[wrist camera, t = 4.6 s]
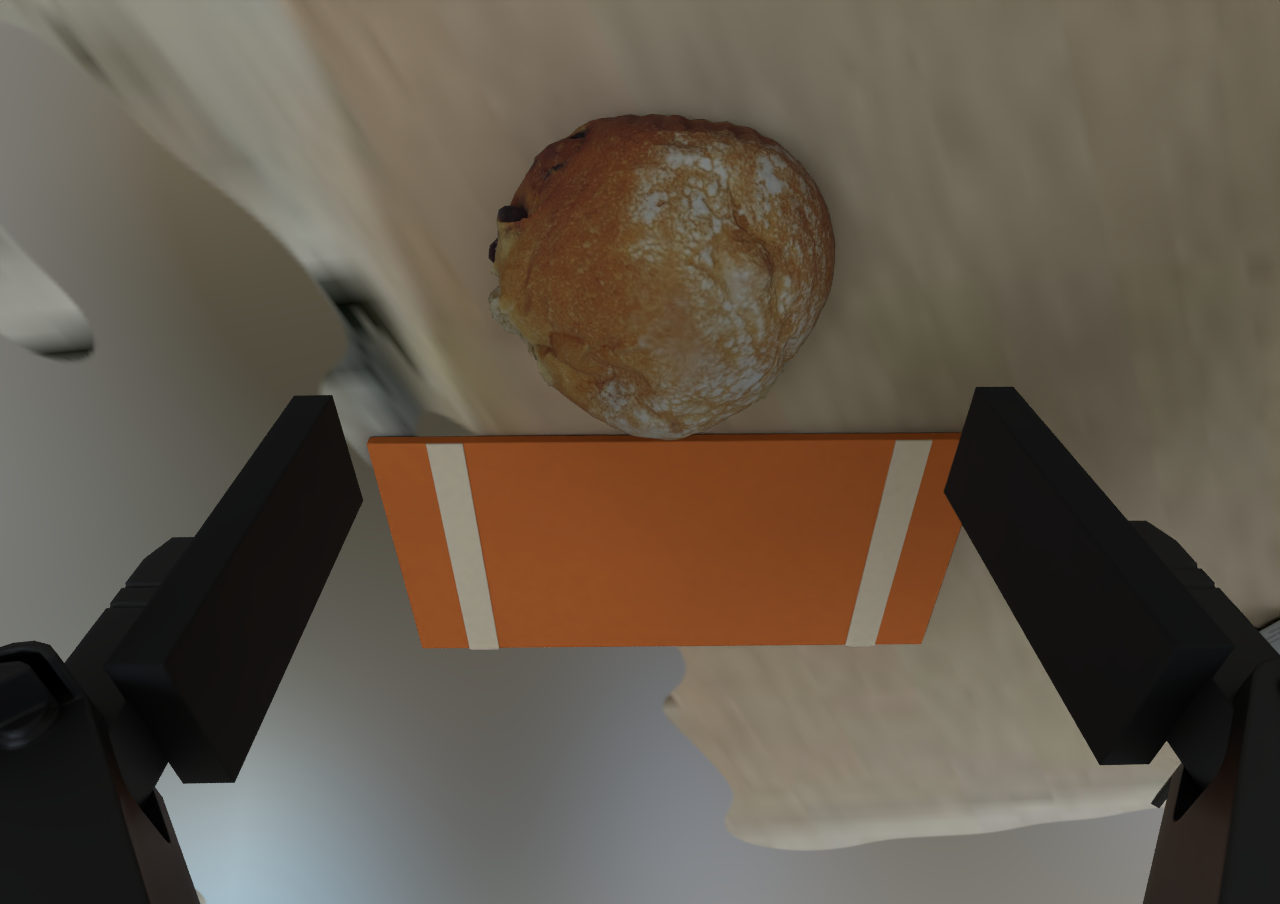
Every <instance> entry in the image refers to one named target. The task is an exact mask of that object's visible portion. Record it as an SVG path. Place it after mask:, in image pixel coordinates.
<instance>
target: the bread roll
mask: <svg viewBox="0 0 1280 904" xmlns="http://www.w3.org/2000/svg"><path fill="white" fill-rule="evenodd" d="M497 226H498V238H497V239H496V240H495V241H494V242H493V243H492V244H491V245H490V249H489V259H490V260H491V261H492V262H493V263H494V265H493V268H492V271H491V273H492V274H494V275H496V276H498V277H499V278H500V279H499V284H500V285H499V286H498V287H497V288H495V289H494V290H493V291H492V292H491V294H490V295H489V298H488V299H489V303H490V310H491V311H492V313H493V318H494V319H495V320H496V321H497V322H498V323H500V325H501V326H502V327H503V329H504V330H505V331H507V332H510V333H512V334H518V336H519V337H520V338H521V339H522V340H523V341H524V342H525V343H526V344H527V346H529V353H530V355H532V356H533V357H534V358H535V360H537V366H538V369H539V371H540V374H541V376H542V377H543V379H544V380H545V382H546V383H547V384H548V386H553V387H554V388H555V389H557V390H558V391H559V392H560V393H562V394H563V395H564V396H566V397H567V398H568V399H569V400H571V401H572V402H574V403H575V404H576V405H578V406H579V407H580V408H582V409H583V410H584V411H586V412H587V413H588V414H590V415H591V416H593V417H594V418H596V419H598V420H600V421H602V422H604V423H606V424H607V425H609V426H611V427H614V428H616V429H619V430H621V431H623V432H626V433H628V434H630V435H633V436H637V437H645V438H653V439H661V440H678V439H682V438H685V437H687V436H689V435H692V434H695V433H699V432H702V431H704V430H707V429H709V428H711V427H713V426H714V425H716V424H718V423H720V422H721V421H723V420H725V419H726V418H728V417H729V416H731V415H733V414H736V413H739V412H740V411H742V410H744V409H745V408H747V407H749V406H750V405H751V404H752V403H753V402H757V401H758V400H759V399H762V398H765V397H766V395H767V393H768V392H769V390H770V388H771V387H772V385H773V384H774V382H775V380H776V379H777V377H778V375H779V374H780V373H782V372H783V363H784V362H788V361H789V360H791V359H792V358H793V357H794V356H795V354H796V353H797V351H798V349H799V347H800V346H801V345H802V344H803V343H804V341H805V340H806V338H807V337H808V335H809V334H810V332H811V330H812V329H813V327H814V326H815V323H816V321H817V319H818V317H819V314H820V312H821V310H822V308H823V307H824V305H825V303H826V300H827V298H828V295H829V292H830V289H831V285H832V280H833V275H834V263H835V240H834V234H833V229H832V224H831V220H830V215H829V212H828V208H827V206H826V204H825V201H824V199H823V197H822V195H821V193H820V191H819V189H818V187H817V185H816V183H815V182H814V180H813V179H812V177H811V176H810V174H809V173H808V172H807V170H806V169H805V168H804V167H803V165H802V164H801V163H800V162H799V161H798V160H796V159H795V158H794V157H793V156H792V155H791V154H790V153H789V152H788V151H787V150H786V149H784V148H783V147H782V146H781V145H780V144H778V143H777V142H776V141H774V140H773V139H770V138H767V137H764V136H762V135H761V134H760V133H758V132H757V131H756V130H754V129H752V128H749V127H742V126H736V125H733V124H731V123H729V122H717V123H713V122H710V121H707V120H704V119H697V120H688V119H686V118H684V117H682V116H679V115H672V116H664V115H655V114H650V115H646V116H641V117H640V116H636V115H624V116H618V117H615V118H601V119H597V120H593V121H590V122H588V123H586V124H584V125H582V126H581V127H579V128H578V129H576V130H575V131H574V132H573V133H572V134H571V135H570V136H569V137H567V138H565V139H562V140H560V141H557V142H555V143H553V144H550V145H549V146H547V147H546V148H545V149H544V150H543V151H542V152H541V153H540V154H539V155H537V156H536V157H535V158H534V163H533V165H532V166H531V168H530V170H529V171H528V173H527V174H526V176H525V178H524V180H523V181H522V183H521V185H520V186H519V188H518V190H517V191H516V193H515V195H514V197H513V200H512V202H511V204H510V206H504V207H503V208H501V209H499V212H498V217H497Z"/></svg>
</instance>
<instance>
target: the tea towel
mask: <svg viewBox="0 0 1280 904" xmlns="http://www.w3.org/2000/svg"><path fill="white" fill-rule="evenodd" d="M961 434H962V433H859V434H723V435H689V436H687V437H685V438H682V439H678V440H661V439H653V438H645V437H637V436H633V435H587V436H462V437H461V436H454V437H452V436H451V437H370V439H369V441H368V443H367V446H368V450H369V454H370V457H371V461H372V465H373V468H374V472H375V476H376V479H377V483H378V486H379V490H380V494H381V498H382V501H383V505H384V509H385V512H386V516H387V520H388V523H389V527H390V531H391V534H392V538H393V542H394V545H395V549H396V553H397V556H398V560H399V563H400V567H401V571H402V575H403V578H404V582H405V586H406V589H407V593H408V597H409V600H410V604H411V608H412V611H413V615H414V618H415V622H416V626H417V630H418V633H419V637H420V640H421V644H422V648H470V650H478V649H479V650H482V649H483V650H486V649H487V650H489V649H499V648H507V647H508V648H510V647H615V646H616V647H618V646H619V647H621V646H622V647H624V646H737V645H845V646H875V644H921V643H922V640H923V637H924V634H925V631H926V629H927V626H928V623H929V620H930V617H931V614H932V611H933V608H934V605H935V602H936V599H937V596H938V593H939V590H940V587H941V584H942V582H943V579H944V576H945V573H946V570H947V567H948V564H949V561H950V558H951V555H952V552H953V549H954V546H955V543H956V540H957V537H958V535H959V532H960V529H961V526H962V523H961V522H960V520H959V518H958V516H957V515H956V513H955V511H954V509H953V508H952V506H951V504H950V502H949V501H948V499H947V497H946V495H945V494H944V488H945V485H946V482H947V479H948V475H949V472H950V469H951V466H952V463H953V459H954V456H955V453H956V450H957V447H958V443H959V440H960V437H961Z"/></svg>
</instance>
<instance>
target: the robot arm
mask: <svg viewBox="0 0 1280 904" xmlns="http://www.w3.org/2000/svg"><path fill="white" fill-rule="evenodd" d="M944 494H945V495H946V497H947V499H948V501H949V502H950V504H951V506H952V508H953V509H954V511H955V513H956V515H957V516H958V518H959V520H960V522H961V523H962V525H963V527H964V529H965V530H966V532H967V534H968V536H969V537H970V539H971V541H972V543H973V544H974V546H975V548H976V550H977V551H978V553H979V555H980V557H981V558H982V560H983V562H984V564H985V565H986V567H987V569H988V571H989V572H990V574H991V576H992V578H993V579H994V581H995V583H996V585H997V586H998V588H999V590H1000V592H1001V593H1002V595H1003V597H1004V599H1005V600H1006V602H1007V604H1008V606H1009V607H1010V609H1011V611H1012V613H1013V614H1014V616H1015V618H1016V620H1017V621H1018V623H1019V625H1020V627H1021V628H1022V630H1023V632H1024V634H1025V635H1026V637H1027V639H1028V641H1029V642H1030V644H1031V646H1032V648H1033V649H1034V651H1035V653H1036V655H1037V656H1038V658H1039V660H1040V662H1041V663H1042V665H1043V667H1044V669H1045V670H1046V672H1047V674H1048V676H1049V677H1050V679H1051V681H1052V683H1053V684H1054V686H1055V688H1056V690H1057V691H1058V693H1059V695H1060V697H1061V698H1062V700H1063V702H1064V704H1065V705H1066V707H1067V709H1068V711H1069V712H1070V714H1071V716H1072V718H1073V719H1074V721H1075V723H1076V725H1077V726H1078V728H1079V730H1080V731H1081V733H1082V735H1083V737H1084V738H1085V740H1086V742H1087V744H1088V745H1089V747H1090V749H1091V751H1092V752H1093V754H1094V756H1095V758H1096V759H1097V761H1098V763H1099V765H1130V764H1150V762H1151V761H1152V760H1153V758H1154V757H1155V756H1156V754H1157V753H1158V752H1159V750H1160V749H1161V747H1162V746H1163V745H1164V743H1165V742H1166V741H1168V743H1169V744H1170V746H1171V747H1172V749H1173V750H1174V752H1175V753H1176V755H1177V756H1178V758H1179V759H1180V761H1181V762H1182V763H1181V764H1180V765H1179V767H1178V768H1177V769H1176V770H1175V772H1174V773H1173V774H1172V776H1171V777H1170V778H1169V779H1168V781H1167V782H1166V783H1165V785H1164V786H1163V787H1162V788H1161V790H1160V791H1159V792H1158V794H1157V795H1156V796H1155V798H1154V800H1153V801H1152V803H1151V804H1153V805H1154V806H1156V807H1158V808H1160V806H1161V805H1162V804H1163V803H1164V801H1165V800H1166V799H1167V801H1166V805H1165V809H1164V814H1163V818H1162V823H1161V827H1160V832H1159V836H1158V840H1157V844H1156V849H1155V853H1154V857H1153V862H1152V866H1151V871H1150V875H1149V879H1148V884H1147V888H1146V892H1145V897H1144V901H1143V904H1280V654H1279V653H1278V652H1277V651H1276V650H1275V649H1274V648H1273V647H1272V646H1271V645H1270V643H1269V642H1268V641H1267V640H1266V639H1265V638H1264V637H1263V636H1262V635H1261V634H1260V632H1259V631H1258V630H1257V629H1256V628H1255V627H1254V626H1253V625H1252V624H1251V623H1250V621H1249V620H1248V619H1247V618H1246V617H1245V616H1244V615H1243V614H1242V613H1241V611H1240V610H1239V609H1238V608H1237V607H1236V606H1235V605H1234V604H1233V603H1232V602H1231V600H1230V599H1229V598H1228V597H1227V596H1226V595H1225V594H1224V593H1223V592H1222V591H1221V589H1220V588H1215V586H1214V584H1215V583H1214V582H1213V581H1212V580H1211V578H1210V577H1209V576H1208V575H1207V574H1206V573H1205V572H1204V571H1203V570H1202V569H1198V568H1197V563H1196V562H1195V561H1194V560H1193V559H1192V558H1191V556H1190V555H1189V554H1188V553H1187V552H1186V551H1185V550H1184V549H1183V548H1182V547H1181V545H1180V544H1179V543H1178V542H1177V541H1176V540H1174V539H1173V538H1171V537H1170V536H1168V535H1167V534H1165V533H1164V532H1162V531H1161V530H1159V529H1158V528H1156V527H1155V526H1153V525H1152V524H1150V523H1149V522H1147V521H1128V520H1127V519H1126V518H1125V517H1124V515H1123V514H1122V513H1121V512H1120V511H1119V510H1118V508H1117V507H1116V506H1115V505H1114V504H1113V503H1112V501H1111V500H1110V499H1109V498H1108V497H1107V496H1106V494H1105V493H1104V492H1103V491H1102V490H1101V489H1100V487H1099V486H1098V485H1097V484H1096V483H1095V482H1094V480H1093V479H1092V478H1091V477H1090V476H1089V475H1088V473H1087V472H1086V471H1085V470H1084V469H1083V468H1082V466H1081V465H1080V464H1079V463H1078V462H1077V461H1076V459H1075V458H1074V457H1073V456H1072V455H1071V454H1070V452H1069V451H1068V450H1067V449H1066V448H1065V447H1064V445H1063V444H1062V443H1061V442H1060V441H1059V440H1058V438H1057V437H1056V436H1055V435H1054V434H1053V433H1052V431H1051V430H1050V429H1049V428H1048V427H1047V426H1046V424H1045V423H1044V422H1043V421H1042V420H1041V419H1040V417H1039V416H1038V415H1037V414H1036V413H1035V412H1034V410H1033V409H1032V408H1031V407H1030V406H1029V405H1028V403H1027V402H1026V401H1025V400H1024V399H1023V398H1022V396H1021V395H1020V394H1019V393H1018V392H1017V391H1016V389H1015V388H1014V387H976V389H975V392H974V395H973V398H972V402H971V405H970V408H969V411H968V414H967V418H966V421H965V424H964V427H963V430H962V434H961V437H960V440H959V443H958V447H957V450H956V453H955V456H954V459H953V463H952V466H951V469H950V472H949V475H948V479H947V482H946V485H945V488H944ZM362 502H363V498H362V495H361V491H360V488H359V485H358V482H357V478H356V474H355V471H354V468H353V465H352V461H351V457H350V454H349V451H348V447H347V444H346V440H345V437H344V434H343V430H342V427H341V423H340V420H339V417H338V413H337V410H336V406H335V403H334V400H333V396H332V395H315V396H294V397H293V398H292V400H291V401H290V402H289V404H288V405H287V407H286V408H285V410H284V411H283V412H282V414H281V415H280V417H279V418H278V420H277V421H276V422H275V424H274V425H273V427H272V428H271V429H270V431H269V432H268V433H267V435H266V436H265V438H264V439H263V441H262V442H261V443H260V445H259V446H258V448H257V449H256V451H255V452H254V453H253V455H252V456H251V458H250V459H249V460H248V462H247V463H246V465H245V466H244V468H243V469H242V470H241V472H240V473H239V475H238V476H237V477H236V479H235V480H234V482H233V483H232V484H231V486H230V487H229V489H228V490H227V492H226V493H225V494H224V496H223V497H222V499H221V500H220V501H219V503H218V504H217V506H216V507H215V508H214V510H213V512H212V513H211V514H210V516H209V517H208V518H207V520H206V521H205V523H204V524H203V526H202V527H201V528H200V530H199V531H198V533H197V534H196V535H195V537H176V538H175V537H173V538H171V539H170V540H168V541H167V542H166V543H164V544H163V545H162V546H161V547H159V548H158V549H156V550H155V551H154V552H152V553H151V554H150V555H148V556H147V557H146V558H145V559H144V560H143V561H142V562H141V563H140V565H139V566H138V567H137V569H136V570H135V571H134V573H133V574H132V575H131V577H130V578H129V579H128V580H127V582H126V587H125V588H122V589H121V590H120V591H119V592H118V594H117V595H116V596H115V598H114V599H113V600H112V602H111V603H110V604H111V605H110V608H107V609H105V611H104V612H103V613H102V615H101V616H100V617H99V619H98V620H97V621H96V622H95V624H94V625H93V626H92V628H91V629H90V631H89V632H88V633H87V634H86V636H85V637H84V638H83V639H82V641H81V642H80V644H79V645H78V646H77V647H76V649H75V650H74V652H73V653H72V654H71V655H70V657H69V658H68V659H67V661H66V662H65V663H64V662H63V661H62V660H61V659H60V657H59V656H58V654H57V653H56V652H55V651H54V649H53V648H52V647H51V646H50V645H48V644H45V643H41V642H36V641H28V642H18V643H11V644H8V645H5V646H2V647H0V904H200V902H199V899H198V896H197V893H196V891H195V888H194V885H193V882H192V879H191V876H190V874H189V871H188V868H187V865H186V862H185V860H184V857H183V854H182V851H181V848H180V846H179V843H178V840H177V837H176V834H175V831H174V828H173V826H172V823H171V820H170V817H169V814H168V812H167V809H166V806H165V803H164V800H163V797H162V796H161V795H160V793H159V792H158V791H157V789H156V788H155V785H156V784H157V782H158V780H159V778H160V776H161V774H162V772H163V771H164V769H165V767H166V765H167V763H168V762H169V764H170V765H171V766H172V768H173V769H174V771H175V772H176V774H177V775H178V777H179V778H180V780H181V781H182V782H183V784H185V783H234V782H235V780H236V778H237V776H238V774H239V772H240V770H241V767H242V765H243V763H244V761H245V758H246V756H247V754H248V752H249V750H250V747H251V745H252V743H253V741H254V739H255V736H256V734H257V732H258V730H259V728H260V726H261V723H262V721H263V719H264V717H265V715H266V712H267V710H268V708H269V706H270V703H271V702H272V699H273V697H274V695H275V693H276V691H277V688H278V686H279V684H280V682H281V680H282V677H283V675H284V673H285V671H286V669H287V666H288V664H289V662H290V660H291V658H292V655H293V653H294V651H295V649H296V646H297V644H298V642H299V640H300V638H301V636H302V633H303V631H304V629H305V627H306V625H307V622H308V620H309V618H310V616H311V614H312V612H313V609H314V607H315V605H316V603H317V601H318V598H319V596H320V594H321V592H322V590H323V587H324V585H325V583H326V581H327V579H328V576H329V574H330V572H331V570H332V568H333V565H334V563H335V561H336V559H337V557H338V554H339V552H340V550H341V548H342V545H343V544H344V541H345V539H346V537H347V535H348V532H349V530H350V528H351V526H352V523H353V522H354V519H355V517H356V515H357V513H358V511H359V508H360V506H361V504H362Z"/></svg>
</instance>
